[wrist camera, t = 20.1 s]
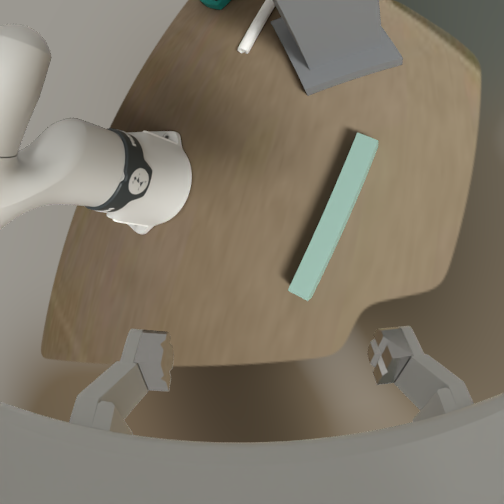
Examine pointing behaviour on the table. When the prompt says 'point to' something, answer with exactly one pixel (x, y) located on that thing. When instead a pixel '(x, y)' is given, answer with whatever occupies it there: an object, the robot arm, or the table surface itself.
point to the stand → (334, 40)
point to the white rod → (256, 26)
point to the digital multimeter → (215, 3)
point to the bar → (334, 216)
